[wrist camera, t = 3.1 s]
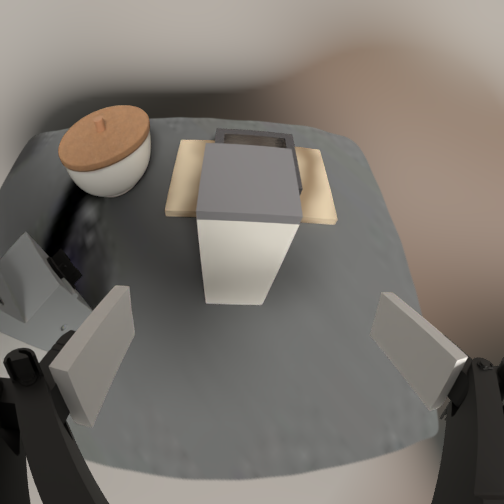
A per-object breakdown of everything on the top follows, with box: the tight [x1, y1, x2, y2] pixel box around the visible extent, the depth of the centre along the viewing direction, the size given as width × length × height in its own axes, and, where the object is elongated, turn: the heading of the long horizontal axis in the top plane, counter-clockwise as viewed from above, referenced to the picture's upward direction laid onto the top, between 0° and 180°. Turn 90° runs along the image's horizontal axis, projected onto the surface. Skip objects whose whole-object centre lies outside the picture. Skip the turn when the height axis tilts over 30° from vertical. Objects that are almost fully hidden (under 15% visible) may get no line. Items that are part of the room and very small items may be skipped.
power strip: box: [196, 143, 303, 305], centre depth 24 cm, size 6×6×16 cm
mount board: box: [165, 140, 337, 225], centre depth 38 cm, size 22×14×1 cm, turn 91°
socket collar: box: [215, 128, 303, 195], centre depth 35 cm, size 11×11×4 cm
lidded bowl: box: [58, 105, 151, 197], centre depth 31 cm, size 13×13×11 cm
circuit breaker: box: [0, 232, 93, 378], centre depth 18 cm, size 8×14×15 cm, turn 143°
